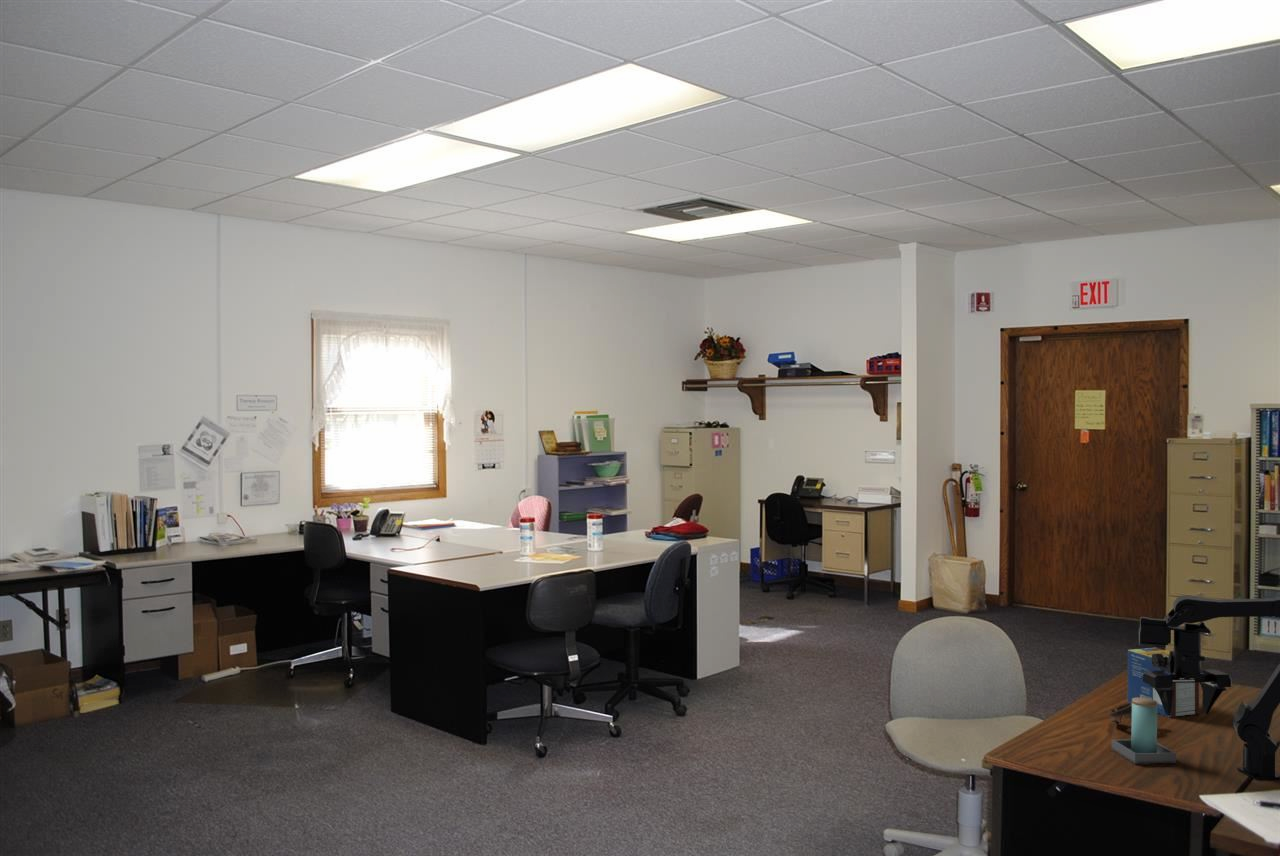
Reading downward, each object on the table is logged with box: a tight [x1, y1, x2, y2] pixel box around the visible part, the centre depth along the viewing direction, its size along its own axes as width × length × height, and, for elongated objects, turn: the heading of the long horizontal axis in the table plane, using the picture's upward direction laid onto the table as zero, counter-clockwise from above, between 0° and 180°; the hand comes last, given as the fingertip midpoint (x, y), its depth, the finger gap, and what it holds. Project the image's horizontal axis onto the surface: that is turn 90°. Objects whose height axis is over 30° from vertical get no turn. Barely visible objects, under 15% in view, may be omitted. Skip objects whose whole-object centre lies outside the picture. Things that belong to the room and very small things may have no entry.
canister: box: [1130, 698, 1158, 753], centre depth 235 cm, size 6×6×13 cm
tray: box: [1110, 738, 1177, 765], centre depth 235 cm, size 10×10×2 cm
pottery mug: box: [1108, 701, 1132, 725], centre depth 256 cm, size 12×10×8 cm
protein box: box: [1127, 646, 1200, 718], centre depth 274 cm, size 10×15×16 cm
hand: (1186, 714), depth 229 cm, fingers open, 9 cm apart
